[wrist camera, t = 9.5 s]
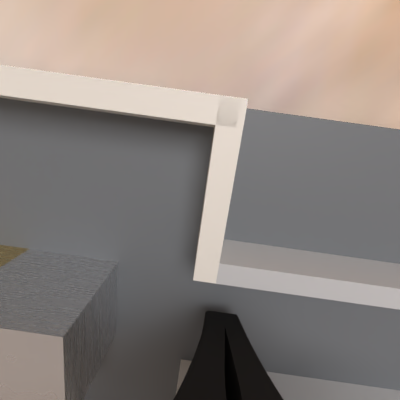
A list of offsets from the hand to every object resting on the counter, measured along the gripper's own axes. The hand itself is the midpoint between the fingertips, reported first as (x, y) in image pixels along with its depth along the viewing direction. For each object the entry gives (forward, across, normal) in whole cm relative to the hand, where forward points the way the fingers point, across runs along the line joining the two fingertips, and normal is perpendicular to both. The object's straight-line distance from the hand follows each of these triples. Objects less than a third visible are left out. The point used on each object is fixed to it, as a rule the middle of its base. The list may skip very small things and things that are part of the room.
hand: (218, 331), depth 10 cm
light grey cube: (+1, +7, 0) cm, 7 cm away
